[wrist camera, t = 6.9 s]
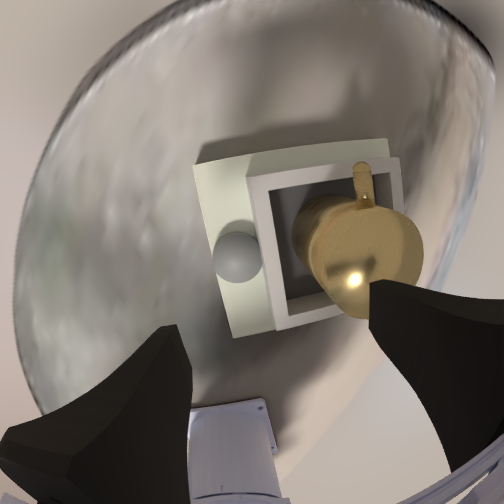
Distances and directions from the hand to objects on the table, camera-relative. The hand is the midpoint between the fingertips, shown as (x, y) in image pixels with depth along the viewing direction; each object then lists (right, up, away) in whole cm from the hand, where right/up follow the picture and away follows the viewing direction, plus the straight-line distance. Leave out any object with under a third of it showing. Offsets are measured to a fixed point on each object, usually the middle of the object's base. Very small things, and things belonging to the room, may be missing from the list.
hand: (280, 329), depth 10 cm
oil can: (+4, +4, +7) cm, 9 cm away
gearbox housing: (+2, +4, +8) cm, 9 cm away
